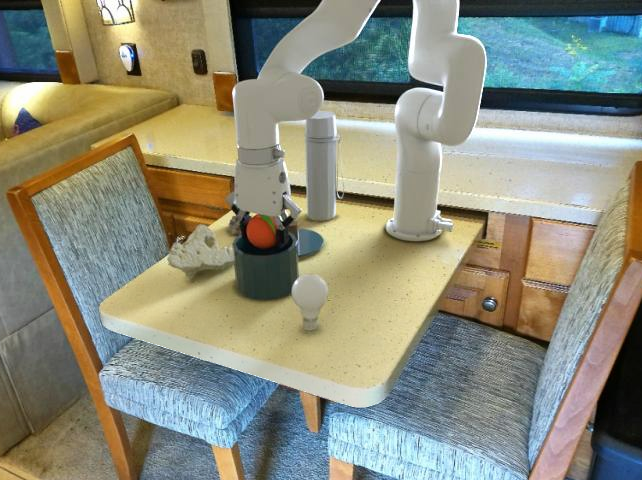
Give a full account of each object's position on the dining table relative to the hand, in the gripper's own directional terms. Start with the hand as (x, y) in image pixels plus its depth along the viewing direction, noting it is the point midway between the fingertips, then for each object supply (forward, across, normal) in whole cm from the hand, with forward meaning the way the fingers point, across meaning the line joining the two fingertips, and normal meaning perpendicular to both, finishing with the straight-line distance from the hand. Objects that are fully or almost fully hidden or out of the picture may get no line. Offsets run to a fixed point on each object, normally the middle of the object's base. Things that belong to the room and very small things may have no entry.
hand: (264, 240), depth 117 cm
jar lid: (+9, +4, -17) cm, 19 cm away
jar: (+10, 0, 0) cm, 10 cm away
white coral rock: (+10, +14, +3) cm, 18 cm away
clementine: (+2, 0, 0) cm, 2 cm away
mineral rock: (+10, +18, -19) cm, 28 cm away
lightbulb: (+10, -16, +10) cm, 21 cm away
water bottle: (+10, +4, -34) cm, 36 cm away
